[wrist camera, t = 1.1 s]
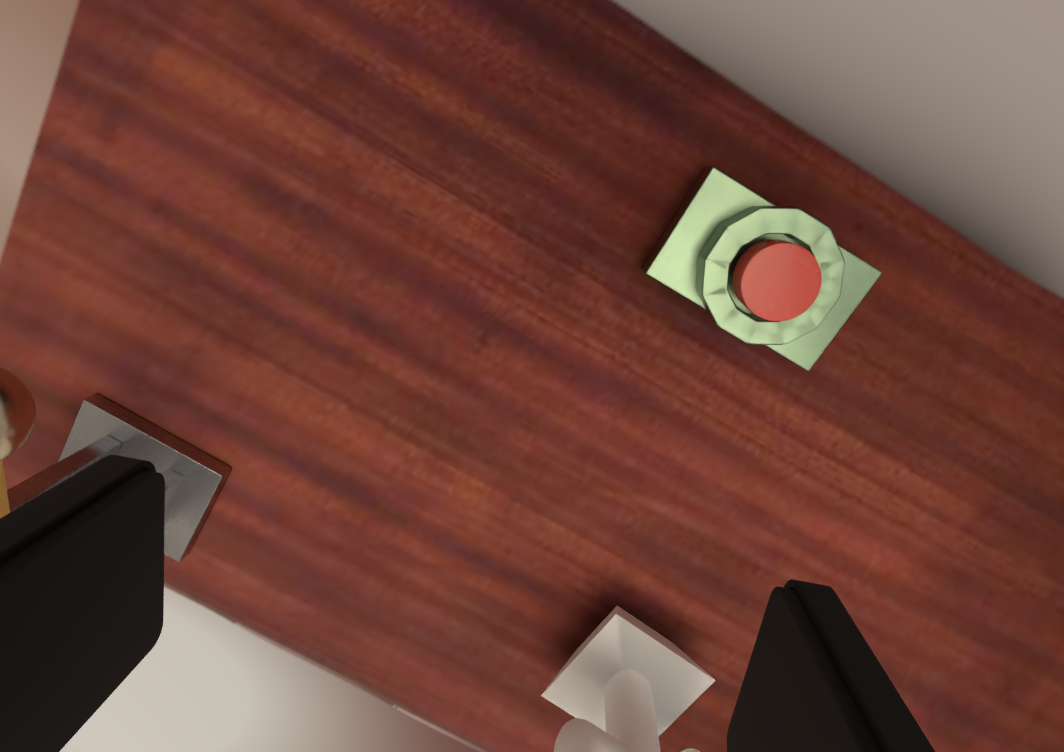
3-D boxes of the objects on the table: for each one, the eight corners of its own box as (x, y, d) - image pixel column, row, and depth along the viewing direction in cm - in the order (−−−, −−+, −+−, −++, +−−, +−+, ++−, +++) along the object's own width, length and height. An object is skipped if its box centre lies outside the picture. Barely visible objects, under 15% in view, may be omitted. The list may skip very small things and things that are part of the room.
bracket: (97, 392, 40) (-112, 488, 28) (232, 467, 41) (86, 591, 29) (59, 483, 42) (-152, 608, 30) (189, 552, 43) (36, 702, 31)
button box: (638, 272, 36) (645, 283, 32) (707, 162, 34) (724, 160, 31) (792, 364, 37) (817, 386, 33) (868, 262, 35) (903, 273, 32)
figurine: (645, 719, 45) (678, 978, 30) (529, 644, 43) (507, 876, 29) (717, 647, 43) (789, 887, 28) (598, 567, 42) (610, 774, 27)
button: (717, 290, 33) (725, 296, 31) (761, 224, 32) (771, 227, 30) (779, 327, 33) (789, 335, 31) (824, 263, 32) (838, 268, 30)
